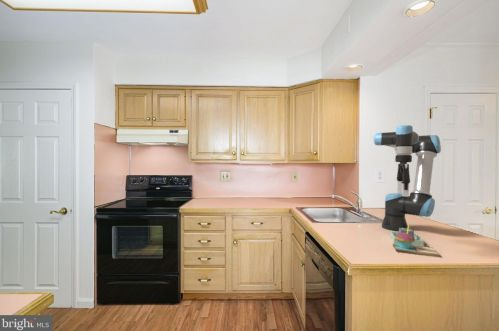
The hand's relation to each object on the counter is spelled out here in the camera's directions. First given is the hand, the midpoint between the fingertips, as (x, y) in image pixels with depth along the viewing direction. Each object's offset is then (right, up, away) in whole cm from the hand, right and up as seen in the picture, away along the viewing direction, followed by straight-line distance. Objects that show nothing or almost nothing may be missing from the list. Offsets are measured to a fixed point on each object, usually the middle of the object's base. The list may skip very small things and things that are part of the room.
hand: (402, 194), depth 137 cm
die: (+5, -26, +6) cm, 27 cm away
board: (+1, -27, -9) cm, 28 cm away
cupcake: (-3, -26, -7) cm, 27 cm away
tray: (+5, -27, +6) cm, 28 cm away
